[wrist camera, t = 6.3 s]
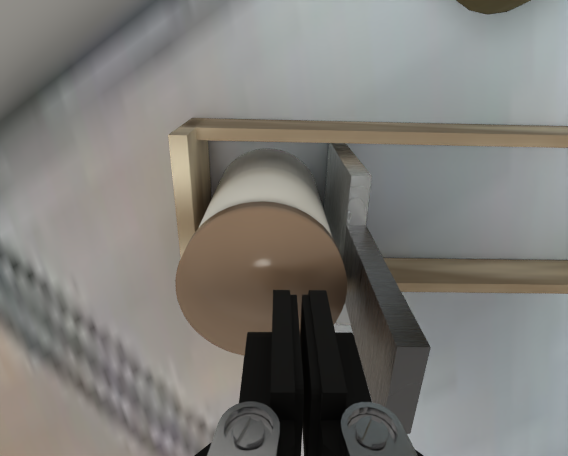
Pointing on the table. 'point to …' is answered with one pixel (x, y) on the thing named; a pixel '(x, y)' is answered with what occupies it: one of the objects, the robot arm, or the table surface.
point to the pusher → (373, 293)
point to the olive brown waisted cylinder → (491, 5)
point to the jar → (258, 250)
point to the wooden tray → (406, 271)
